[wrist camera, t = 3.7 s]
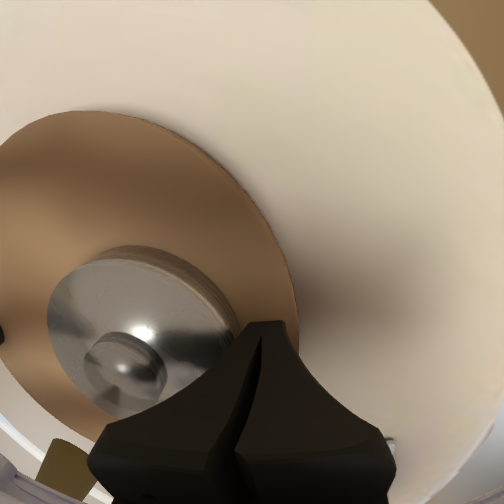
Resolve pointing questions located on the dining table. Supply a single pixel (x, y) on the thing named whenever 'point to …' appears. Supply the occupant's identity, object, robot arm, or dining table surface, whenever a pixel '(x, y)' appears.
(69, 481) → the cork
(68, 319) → the cover
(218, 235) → the turntable
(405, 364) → the dining table surface
